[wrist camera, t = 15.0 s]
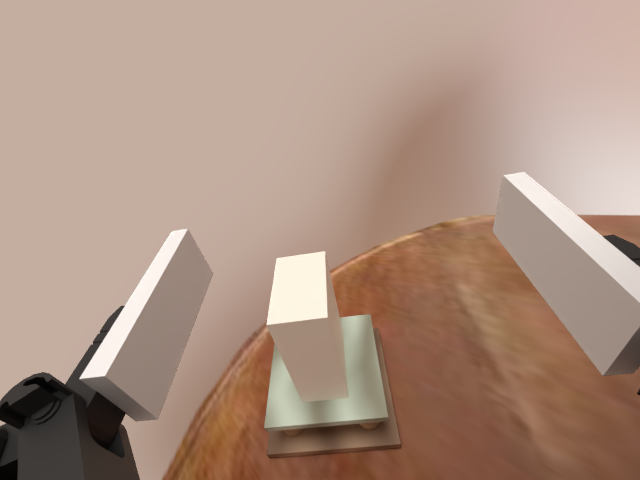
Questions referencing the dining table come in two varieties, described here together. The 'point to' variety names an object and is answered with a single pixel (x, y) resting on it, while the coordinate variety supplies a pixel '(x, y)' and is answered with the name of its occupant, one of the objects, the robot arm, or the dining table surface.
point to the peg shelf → (341, 431)
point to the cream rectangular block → (308, 327)
